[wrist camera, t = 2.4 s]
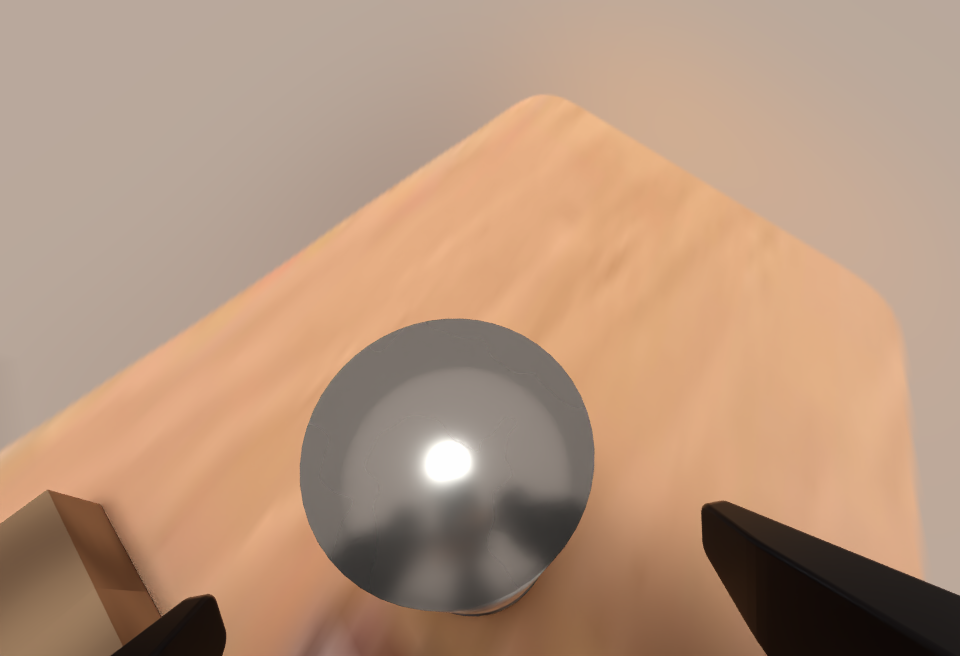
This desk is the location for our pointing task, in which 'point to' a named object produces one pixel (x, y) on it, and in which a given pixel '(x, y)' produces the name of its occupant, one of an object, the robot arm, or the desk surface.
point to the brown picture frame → (67, 582)
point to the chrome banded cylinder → (447, 466)
